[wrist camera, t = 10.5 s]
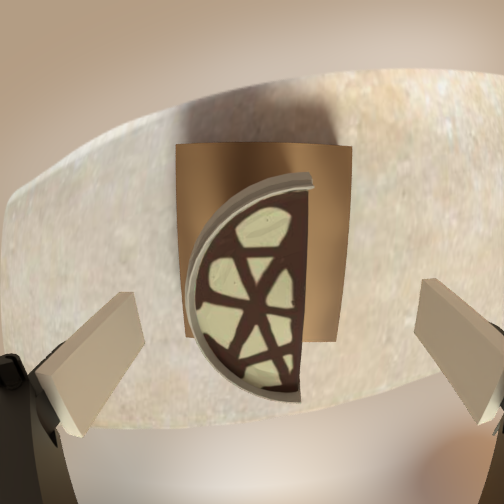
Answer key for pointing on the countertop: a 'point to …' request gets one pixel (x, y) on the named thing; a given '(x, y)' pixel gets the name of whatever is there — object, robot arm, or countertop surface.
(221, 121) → the countertop surface
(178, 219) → the walnut block
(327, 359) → the countertop surface
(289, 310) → the food container
